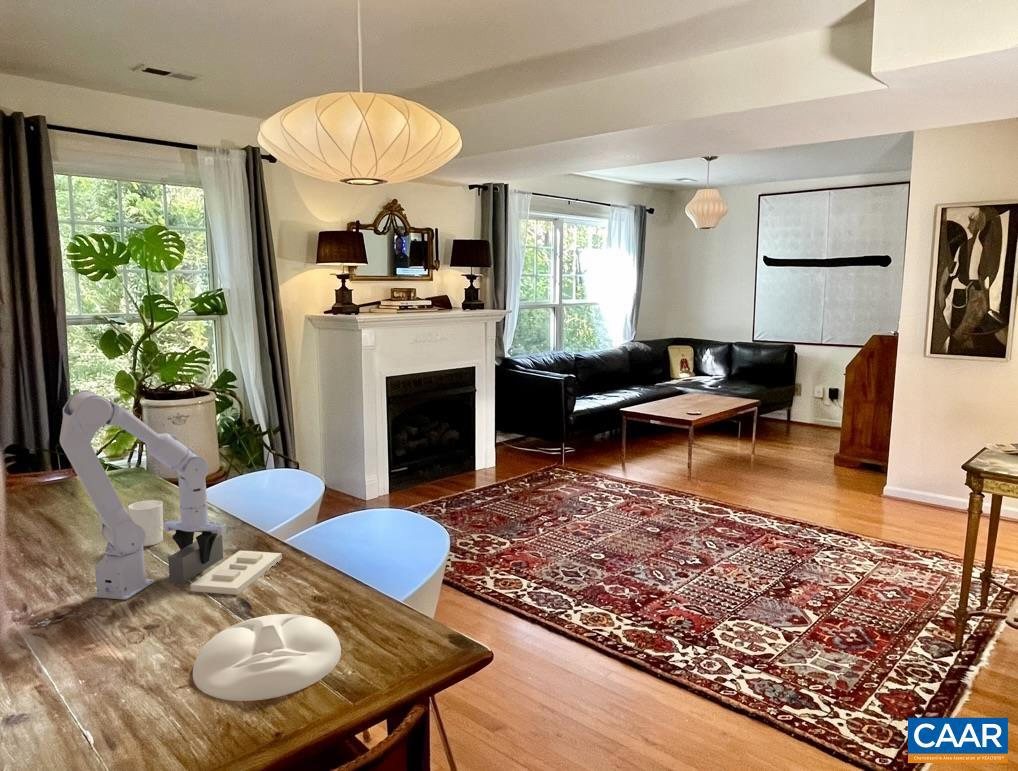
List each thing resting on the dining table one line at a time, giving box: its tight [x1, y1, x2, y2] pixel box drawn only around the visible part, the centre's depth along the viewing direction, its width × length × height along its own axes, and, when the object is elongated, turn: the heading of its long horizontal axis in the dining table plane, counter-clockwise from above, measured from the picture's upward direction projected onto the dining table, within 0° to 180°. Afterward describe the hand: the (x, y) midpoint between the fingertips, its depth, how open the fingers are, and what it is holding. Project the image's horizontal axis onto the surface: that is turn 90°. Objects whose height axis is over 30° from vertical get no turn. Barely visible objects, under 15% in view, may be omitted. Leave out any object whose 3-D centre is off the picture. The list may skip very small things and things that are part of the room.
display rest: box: [190, 550, 283, 596], centre depth 161 cm, size 20×11×2 cm, turn 171°
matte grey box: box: [167, 534, 224, 584], centre depth 164 cm, size 15×4×6 cm, turn 169°
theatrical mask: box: [192, 613, 342, 702], centre depth 125 cm, size 25×8×25 cm
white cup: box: [127, 499, 164, 547], centre depth 181 cm, size 8×8×10 cm
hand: (197, 561), depth 164 cm, fingers closed on matte grey box, 4 cm apart
